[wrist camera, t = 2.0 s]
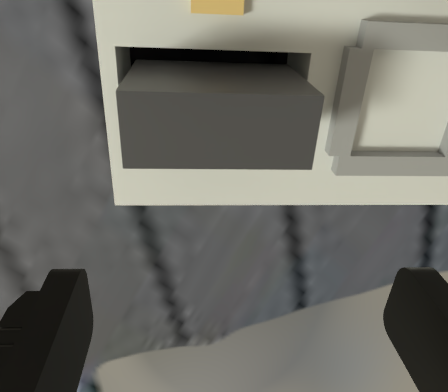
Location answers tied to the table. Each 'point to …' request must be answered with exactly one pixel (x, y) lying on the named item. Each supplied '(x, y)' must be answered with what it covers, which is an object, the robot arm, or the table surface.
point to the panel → (321, 79)
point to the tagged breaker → (217, 116)
